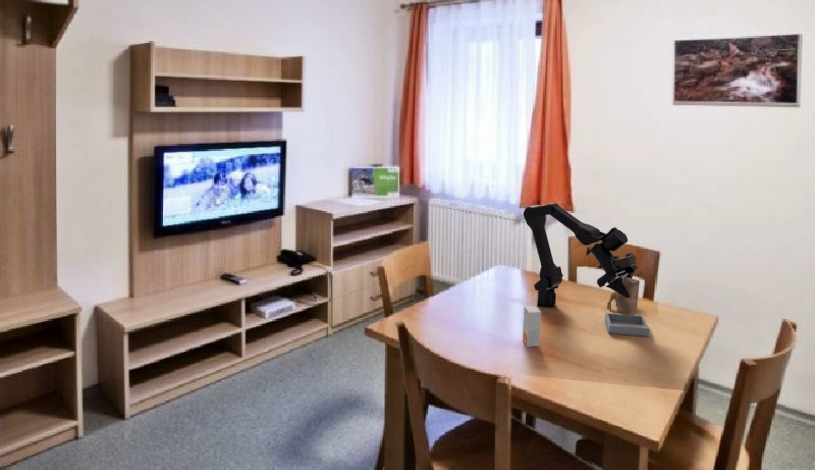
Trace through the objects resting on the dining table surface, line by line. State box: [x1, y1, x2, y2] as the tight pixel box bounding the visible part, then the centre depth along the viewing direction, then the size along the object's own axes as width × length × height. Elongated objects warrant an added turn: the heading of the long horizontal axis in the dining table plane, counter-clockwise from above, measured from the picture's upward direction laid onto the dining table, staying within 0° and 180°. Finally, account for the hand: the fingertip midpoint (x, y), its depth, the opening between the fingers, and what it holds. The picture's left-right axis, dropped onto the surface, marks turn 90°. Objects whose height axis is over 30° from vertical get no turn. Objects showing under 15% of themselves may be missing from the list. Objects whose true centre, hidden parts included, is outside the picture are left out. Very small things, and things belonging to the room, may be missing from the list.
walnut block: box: [616, 277, 641, 316], centre depth 214 cm, size 5×4×12 cm
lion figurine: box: [606, 290, 619, 311], centre depth 238 cm, size 15×5×9 cm, turn 133°
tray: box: [604, 312, 650, 338], centre depth 216 cm, size 13×13×3 cm
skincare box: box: [522, 305, 542, 348], centre depth 202 cm, size 6×4×12 cm
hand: (631, 295), depth 213 cm, fingers closed on walnut block, 4 cm apart
